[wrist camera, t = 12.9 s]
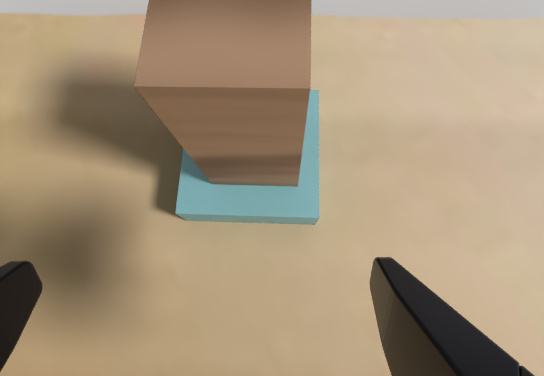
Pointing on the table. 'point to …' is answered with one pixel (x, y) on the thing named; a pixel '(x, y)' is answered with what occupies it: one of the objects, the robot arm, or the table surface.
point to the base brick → (256, 189)
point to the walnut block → (231, 84)
